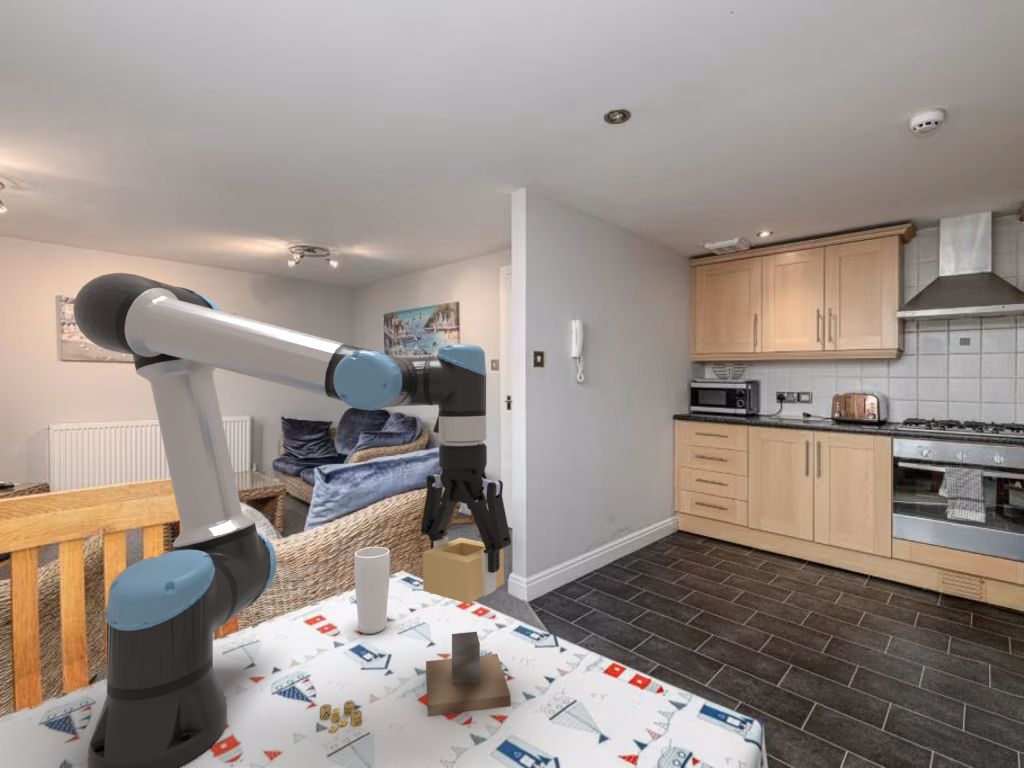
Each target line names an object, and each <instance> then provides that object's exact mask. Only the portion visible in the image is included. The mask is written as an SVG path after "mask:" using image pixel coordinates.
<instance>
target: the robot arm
mask: <svg viewBox="0 0 1024 768" xmlns="http://www.w3.org/2000/svg"><path fill="white" fill-rule="evenodd" d="M72 308H73V318H74V321H75V324H76V325H77V328H78V330H80V332H81V333H82V335H83V336H84V337H85V338H86V339H88V341H89V342H91V343H93V345H96V346H97V347H100V348H102V349H105V350H108V351H111V352H116V353H120V354H121V353H122V354H126V355H127V354H129V355H132V359H133V363H134V368H135V373H136V374H137V375H138V376H140V377H141V378H143V379H145V380H147V382H149V383H150V386H151V387H150V388H151V390H152V395H153V396H152V397H153V400H154V405H155V410H156V414H157V418H158V424H159V428H160V434H161V440H162V444H163V448H164V453H165V457H166V463H167V467H168V471H169V477H170V480H171V481H170V482H171V485H172V489H173V490H172V491H173V495H174V499H175V505H176V508H177V509H176V510H177V514H178V519H179V524H180V529H181V530H180V533H179V535H178V536H177V537H176V539H175V540H174V541H173V543H172V548H173V550H172V551H168V552H163V553H160V554H159V555H158V556H149V557H146V558H143V559H141V560H139V561H137V562H134V563H133V564H131V565H129V566H128V567H126V568H124V569H123V570H121V572H119V573H118V574H117V575H116V576H115V577H114V578H113V580H112V582H110V584H109V585H110V586H109V588H108V592H107V593H108V596H107V605H106V607H105V613H104V614H105V620H106V699H105V700H104V702H103V706H102V709H101V711H100V715H99V716H98V720H97V722H96V724H95V728H94V730H93V733H92V736H91V739H90V742H89V746H88V758H87V759H88V762H87V763H88V765H87V766H89V767H88V768H178V767H180V766H182V765H185V764H186V763H188V762H190V761H191V760H194V759H195V758H196V757H199V755H200V756H201V754H203V753H204V752H205V751H207V750H208V749H209V748H211V746H213V744H215V743H216V742H217V740H219V738H220V737H221V735H222V734H223V733H224V731H225V729H226V727H227V723H228V705H227V700H226V696H225V695H224V692H223V689H222V687H221V685H220V682H219V680H218V678H217V675H216V672H215V670H214V664H213V662H214V661H213V660H214V659H213V658H214V657H213V654H214V653H213V651H214V632H216V631H217V630H218V629H219V628H221V627H222V626H223V625H225V624H226V623H227V622H229V621H231V619H233V618H234V617H235V616H236V615H238V614H240V613H241V612H242V611H243V610H246V609H247V608H248V607H250V606H251V605H253V604H254V603H255V602H256V601H257V600H259V598H261V596H262V595H263V594H264V593H265V592H266V591H267V589H268V588H269V587H270V585H271V583H272V581H273V580H274V577H275V575H276V571H277V565H278V564H277V562H278V561H277V554H276V551H275V547H274V546H273V544H272V542H271V541H270V540H269V538H266V537H264V535H263V534H262V533H260V532H258V530H257V526H256V521H255V519H253V518H252V517H250V516H248V515H245V514H244V512H243V510H242V506H241V501H240V497H239V492H238V487H237V483H236V478H235V473H234V468H233V464H232V459H231V455H230V450H229V446H228V445H229V444H228V441H227V436H226V430H225V426H224V422H223V421H224V420H223V417H222V412H221V407H220V403H219V397H218V393H217V389H216V384H215V380H214V375H213V374H214V371H215V370H216V369H221V370H224V371H228V372H233V373H236V374H239V375H240V374H241V375H243V376H247V377H252V378H255V379H259V380H263V381H267V382H271V383H275V384H278V385H282V386H285V387H288V388H289V387H290V388H293V389H297V390H302V391H305V392H308V393H312V394H316V395H320V396H323V397H324V396H325V397H326V398H327V397H328V398H330V399H334V400H337V401H341V402H344V403H345V404H346V405H348V406H349V407H352V408H354V409H359V410H364V411H369V412H370V411H377V410H382V409H385V408H393V407H395V408H396V407H408V406H410V407H413V406H415V407H416V406H438V440H439V441H440V442H442V444H440V445H439V446H438V466H439V468H441V469H442V470H441V473H435V474H430V475H427V476H426V478H425V479H426V480H425V481H426V495H425V500H424V501H425V502H424V507H423V508H424V509H423V514H422V521H421V526H420V533H421V534H422V535H426V536H428V539H430V549H432V548H435V547H437V546H440V545H443V544H445V543H448V542H449V537H446V536H447V535H448V533H446V531H447V529H448V526H449V523H450V521H451V518H452V516H453V513H454V511H455V509H456V506H457V504H458V503H459V502H460V503H462V504H465V505H466V507H467V509H468V510H469V511H471V514H472V516H473V519H474V522H475V525H476V527H477V529H478V532H479V535H480V538H481V540H482V542H483V543H484V546H485V548H486V550H483V551H481V571H482V595H483V597H487V596H489V595H490V594H492V593H493V592H495V591H497V588H496V571H498V570H499V568H500V564H499V563H500V549H502V548H504V549H505V548H506V547H509V546H510V545H511V544H512V540H511V535H510V530H509V526H508V520H507V515H506V514H507V513H506V509H505V505H504V499H503V490H504V488H503V487H504V483H503V481H502V480H501V479H499V480H491V479H488V477H487V475H486V472H485V471H486V467H487V465H488V456H487V455H488V454H487V453H488V451H487V450H488V449H487V448H488V446H487V445H486V443H485V442H483V441H485V440H486V439H487V369H486V367H487V366H486V356H485V355H486V354H485V350H484V349H483V348H482V347H481V346H479V345H477V344H468V343H467V344H466V343H465V344H464V343H463V344H462V343H461V344H459V343H457V344H456V343H454V344H444V345H441V346H439V347H438V349H437V354H436V357H431V358H430V357H429V358H400V357H398V356H392V355H389V354H387V353H383V352H379V351H376V350H372V349H365V348H362V347H358V346H355V345H354V346H353V345H349V344H346V343H343V342H340V341H339V342H338V341H335V340H331V339H328V338H323V337H319V336H316V335H312V334H309V333H305V332H301V331H297V330H293V329H289V328H286V327H283V326H282V327H281V326H278V325H275V324H274V325H273V324H272V323H271V324H270V323H267V322H262V321H259V320H255V319H251V318H248V317H244V316H240V315H236V314H232V313H229V312H225V311H222V310H221V309H220V308H219V307H218V305H217V304H215V302H213V301H212V300H211V299H209V298H208V297H206V296H204V295H202V294H200V293H198V292H196V291H194V290H192V289H190V288H186V287H180V286H175V285H171V284H168V283H164V282H161V281H158V280H155V279H150V278H148V277H145V276H142V275H137V274H133V273H126V272H114V273H106V274H103V275H99V276H97V277H95V278H93V279H91V280H90V281H88V282H87V283H85V285H83V286H82V287H81V288H80V290H79V291H78V293H77V294H76V297H75V298H74V302H73V307H72ZM443 489H444V491H443Z"/></svg>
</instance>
